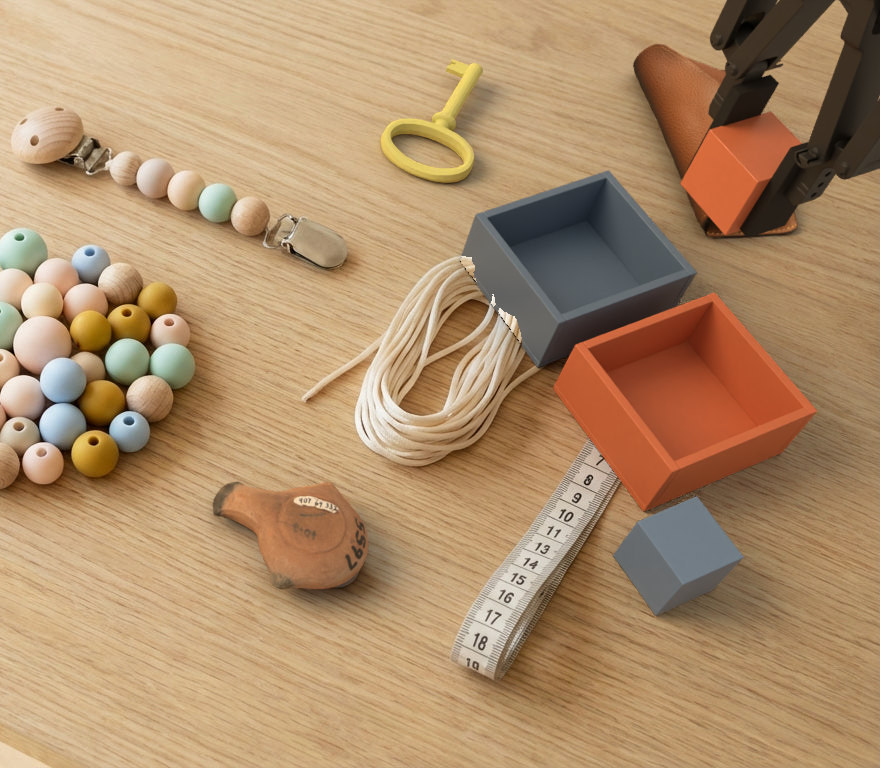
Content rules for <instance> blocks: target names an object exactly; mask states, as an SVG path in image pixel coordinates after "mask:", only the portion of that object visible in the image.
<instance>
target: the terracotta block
mask: <svg viewBox="0 0 880 768" xmlns="http://www.w3.org/2000/svg"><path fill="white" fill-rule="evenodd" d="M800 144H803V143H802V141H801V140H800V139H798V138H797V137H796V135H795V134H794V133H793V132H792V131H791V130H790V129H789V128H788V127H787V126H786V125H785V124H784V123H783V122H782V121H781V120H780V118H778V117H777V116H776V115H775V114H774V113H773V111H767V112H764V113H763V112H762V113H761V115H759V116H755V117H752V118H749V119H745V120H742V121H739V122H735V123H732V124H729V125H725V126H720V127H716V128H713V129H710V130H709V132H708V134H707V135H706V137H705V139H704V141H703V143H702V145H701V146H700V148H699V150H698V152H697V154H696V156H695V158H694V159H693V161H692V163H691V165H690V167H689V169H688V170H687V172H686V174H685V176H684V178H683V180H681V181H680V185H681V187H683V189H684V190H685V192H686V191H687V192H688V193H689V194H690V195H691V197H692V198H693V199H694V200H695V201H696V202H697V204H698V205H699V206H700V207H701V208H702V209H703V210H704V212H705V213H706V214H707V215H708V216H709V217H710V218H711V220H712V221H713V222H714V223H715V224H716V225H717V227H718V228H719V229H720V230H721V231H722V232H723V233H724V235H728V234H731V233H735V232H738V231H741V230H740V227H741V226H742V224H743V223H744V221H745V219H746V218H747V216H748V215H749V213H750V211H751V210H752V208H753V206H754V205H755V203H756V202H757V200H758V198H759V197H760V195H761V194H762V192H763V190H764V189H765V187H766V186H767V184H768V182H769V181H770V179H771V178H772V176H773V174H774V173H775V171H776V170H777V168H778V166H779V165H780V163H781V162H782V160H783V158H784V157H785V155H786V154H787V152H788V150H789V149H790V147H793V146H796V145H800ZM687 192H686V193H687Z"/></svg>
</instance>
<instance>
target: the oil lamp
mask: <svg viewBox="0 0 880 768" xmlns="http://www.w3.org/2000/svg"><path fill="white" fill-rule="evenodd" d="M212 501H213V502H212V510H213V512H212V513H213V515H214V516H215V517H218V518H219V517H221V518H223V519H228V520H232V521H234V522H236V523H238V524H241V525H242V526H244V527H246V528H247V529H249V530H251V531H252V532H254V533H255V535H256V537H257V542H258V546H259V547H258V548H259V551H260V554H261V556H262V559H263V561H264V564H265V565H266V568H267V570H268V571H269V580H270V583H271V586H272V587H274V588H276V589H279V590H289V589H309V590H323V589H331V588H336V587H338V586H340V585H343V584H345V583H346V582H348V581H350V580H351V579H352V578H354V577H355V576H356V574H358V573H359V571H360V570H361V568H362V567H363V566H364V563H365V561H366V559H367V555H368V553H369V538H368V532H367V529H366V525H365V523H364V521H363V519H362V518H361V516H360V515H359V513H358V512H357V510H356V509H355V508H354V507H353V506H352V505H351V504H350V502H349V501H348V500H347V499H346V497H344V496H343V495H342V493H341V491H340V490H339V489H338V488H337V486H335V484H334V483H332V482H329V481H323V482H319V483H316V484H313V485H312V484H311V485H306V486H305V485H304V486H299V487H294V488H290V489H286V490H282V491H275V490H269V489H262V488H257V487H250V486H247V485H245V484H244V483H242V482H239V481H233V482H231V481H230V482H228V483H226V484H224V485H223V486H222V487H221V488H220V489H219V490H218V491H217V493H216V494H215V496H214V498H213V500H212Z"/></svg>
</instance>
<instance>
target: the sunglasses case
mask: <svg viewBox="0 0 880 768" xmlns="http://www.w3.org/2000/svg"><path fill="white" fill-rule="evenodd" d="M632 68H633V72H634V75H635V77H636V79H637V82H638V84H639V86H640V88H641V90H642V92H643V94H644V97H645V98H646V100H647V101H648V104H649V106H650V110H651V111H652V113H653V115H654V117H655V119H656V120H657V124H658V127H659V129H660V131H661V134H662V136H663V139H664V142H665V143H666V146H667V148H668V150H669V153H670V155H671V157H672V160H673V162H674V166H675V169H676V170H677V172H678V173H677V174H678V175H679V177H680V180H681V181H682V180H683V178H684V176H685V174H686V172H687V168H688V166H689V164H690V162H691V160H692V159H693V157H694V155H695V153H696V151H697V149H698V148H699V146H700V144H701V142H702V140H703V138H704V136H705V135H706V133H707V131H708V129H709V127H710V125H711V124H712V122H713V119H712V118H711V117H710V115H709V114H708V112H709V105H710V103H711V101H712V100H713V98H714V96H715V94H716V93H717V90H718V88H719V86H720V84H721V83H722V81H723V79H724V77H725V75H726V73H725V69H718V68H716V67H713V66H710V65H708V64H706V63H703V62H700V61H697V60H695V59H693V58H689V57H686V56H685V55H683V54H681V53H679V52H678V51H676V50H674V49H673V48H671V47H670V46H669V45H667V44H665V43H654V44H652V45H650V46H648V47H646V48H644V49H643V50H641V52H639V54H638V55H637V56H636V57H635V59H634V60H633V63H632ZM685 192H686V196H687V198H688V201H689V204H690V206H691V209H692V211H693V213H694V215H695V216H694V217H695V218H696V221H697V222H698V224H699V226H700V227H701V229H702V230H703V232H704V234H705V236H706V237H708V238H713V239H714V238H715V239H716V238H724V239H725V238H732V239H733V238H735V239H736V238H747V237H746V236H745V235H744V234H743V232H742V231H738V232H735V233H731V234H728V235H724V233H723V232H722V231H721V230H720V229H719V228H718V227H717V225H716V224H715V223H714V222H713V221H712V220H711V218H710V217H709V216H708V215H707V214H706V213H705V212H704V210H703V209H702V208H701V207H700V206H699V205H698V204H697V202H696V201H695V200H694V199H693V198H692V197H691V195H690V194H689V193H688V192H687V191H686V190H685ZM798 226H799V225H798V220H797V216H796V213H795V212H794V213H793V214H792V216H791V217H790V219H789V220H788V222H787V223H786V225H785V226H782V227H779V228H776V229H773V230H770V231H767V232H764V233H761V234H758V235H755V236H752V237H751V238H753V237H754V238H755V237H766V236H775V235H785V234H789V233H792V232H793V233H794V232H795V231H796V230H797V229H798V228H799V227H798Z"/></svg>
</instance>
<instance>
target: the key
mask: <svg viewBox="0 0 880 768" xmlns="http://www.w3.org/2000/svg"><path fill="white" fill-rule="evenodd" d="M445 72H446V73H448V74H451V75H454V76H455V77H456V76H457V77H459V78H460V80H459V82H458V84H457V85H456V87H455V89H454V90H453V92H452V93H451V95H450V97H449V98H448V100H447V102H446V104H445V105H444V107H443V109H442V110H441V111H438V112H436V113H434V114H433V116H431V117H432V118H431V121H430V120H429V121H428V120H425V119H420V118H412V117H411V118H410V117H409V118H408V117H407V118H404V117H403V118H398V119H395V120H393V121H391V122H389V123H388V125H387V126H386V127H385V128H384V130H383V133H382V134H381V136H380V147H381V148H380V149H381V152H382V153H383V155H384V156H385V157H386V159H388V161H389V162H391V163H392V164H393V165H394V166H396V167H397V168H398V169H401V170H402V171H404V172H406V173H408V174H411V175H412V176H415V177H418V178H420V179H424V180H427V181H431V182H435V183H442V184H443V183H446V184H447V183H448V184H451V183H452V184H453V183H458V182H461V181H463V180H464V179H466V178H467V177H468V175H469V174H470V173H471V171H472V169H473V167H474V163H475V162H474V161H475V154H474V153H475V152H474V150H473V148H472V146H471V145H470V143H468V142H467V140H466V139H465V138H464V137H462V136H460V135H459V134H458V133H457V132H455V129H456V127H457V122H456V118H457V116H458V114H459V113H460V111H461V110H462V108H463V106H464V105H465V103H466V101H467V100H468V97H469V96H470V94H472V91H473V90H474V87H475V86H476V84H477V83H478V81H479V79H480V78H481V76H482V74H483V72H484V68H483V66H482V65H481V64H479V63H476V62H472V63H470V64H467V63H463V62H461V61H459V60H456V59H453V58H451V60H450V63H449V64H448V65H447V67H446V69H445ZM398 135H413V136H420V137H422V138H427V139H430V140H432V141H434V142H438V143H439V144H441V145H444V146H445V147H446V148H449V149H451V151H453V152H455V154H456V155H458V156H459V157H460V158H461V160H462V162H463V164H461V165H458V166H456V167H435V166H430V165H426V164H423V163H421V162H418V161H416V160H413V159H412V158H410V157H409V156H407V155H405V154H404V153H403V152H402V151H401V150H400V149H398V147H397V146H396V145H395V144H394V143H393V140H392V139H393V138H394V137H396V136H398Z"/></svg>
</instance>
